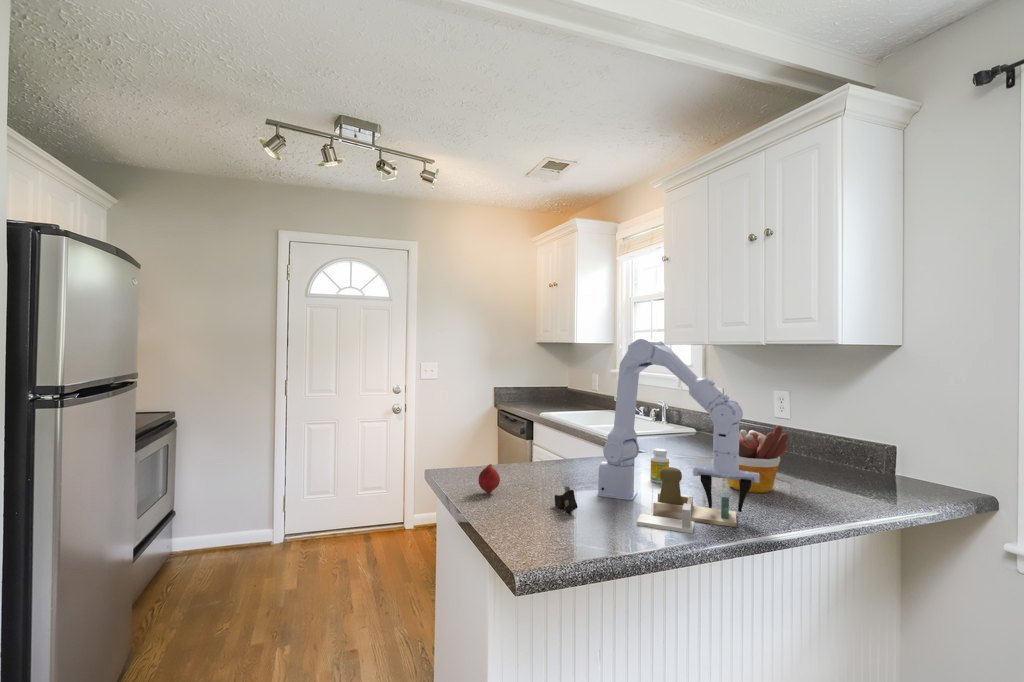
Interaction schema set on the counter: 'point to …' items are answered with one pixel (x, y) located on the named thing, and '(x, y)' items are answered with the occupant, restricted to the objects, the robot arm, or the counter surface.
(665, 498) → the cork
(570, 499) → the black angular piece
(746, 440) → the bucket of meat
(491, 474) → the onion
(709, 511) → the cream slotted holder
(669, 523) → the cream base with post
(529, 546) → the counter surface
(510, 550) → the counter surface
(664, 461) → the supplement bottle
